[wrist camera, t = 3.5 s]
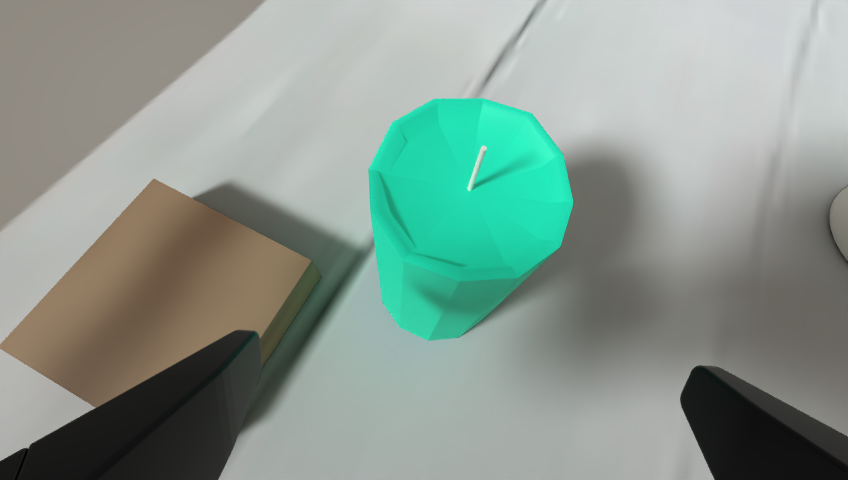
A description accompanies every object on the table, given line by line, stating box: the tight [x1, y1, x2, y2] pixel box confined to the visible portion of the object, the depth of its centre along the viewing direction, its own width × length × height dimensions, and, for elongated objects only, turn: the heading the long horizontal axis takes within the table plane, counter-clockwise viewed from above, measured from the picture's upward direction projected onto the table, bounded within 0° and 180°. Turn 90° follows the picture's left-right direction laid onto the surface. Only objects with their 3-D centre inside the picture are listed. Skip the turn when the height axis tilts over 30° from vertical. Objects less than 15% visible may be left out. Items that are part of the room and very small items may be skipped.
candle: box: [369, 98, 574, 340], centre depth 15 cm, size 6×6×12 cm
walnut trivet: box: [0, 179, 321, 408], centre depth 18 cm, size 9×9×2 cm
